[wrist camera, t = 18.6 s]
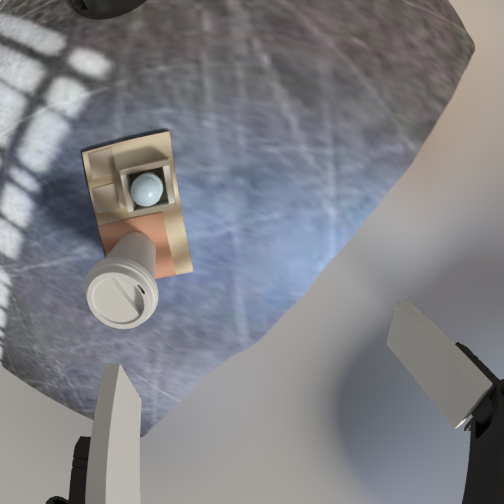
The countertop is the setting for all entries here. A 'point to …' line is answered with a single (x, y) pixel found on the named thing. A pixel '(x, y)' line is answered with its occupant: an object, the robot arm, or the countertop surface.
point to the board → (127, 210)
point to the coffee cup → (124, 283)
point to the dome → (147, 189)
